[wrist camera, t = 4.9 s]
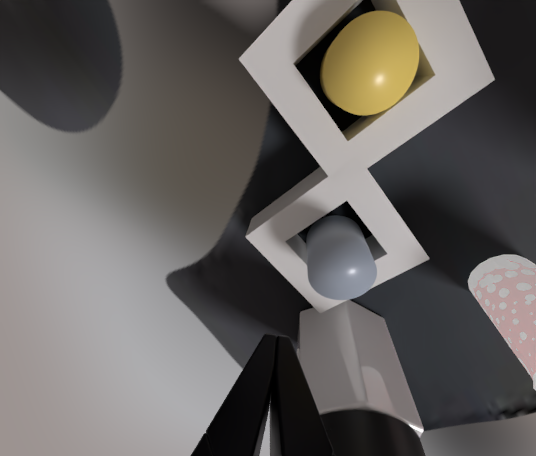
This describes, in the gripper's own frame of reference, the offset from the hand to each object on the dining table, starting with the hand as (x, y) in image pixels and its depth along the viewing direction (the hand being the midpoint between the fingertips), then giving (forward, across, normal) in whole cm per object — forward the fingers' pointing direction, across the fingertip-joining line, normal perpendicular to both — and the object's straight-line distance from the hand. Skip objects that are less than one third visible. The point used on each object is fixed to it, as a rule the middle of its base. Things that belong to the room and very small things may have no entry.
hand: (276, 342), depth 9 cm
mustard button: (+12, -3, -8) cm, 15 cm away
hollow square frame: (+13, -3, -8) cm, 16 cm away
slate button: (+11, -4, +2) cm, 12 cm away
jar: (+13, -6, +13) cm, 20 cm away
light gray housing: (+13, -4, +2) cm, 14 cm away
